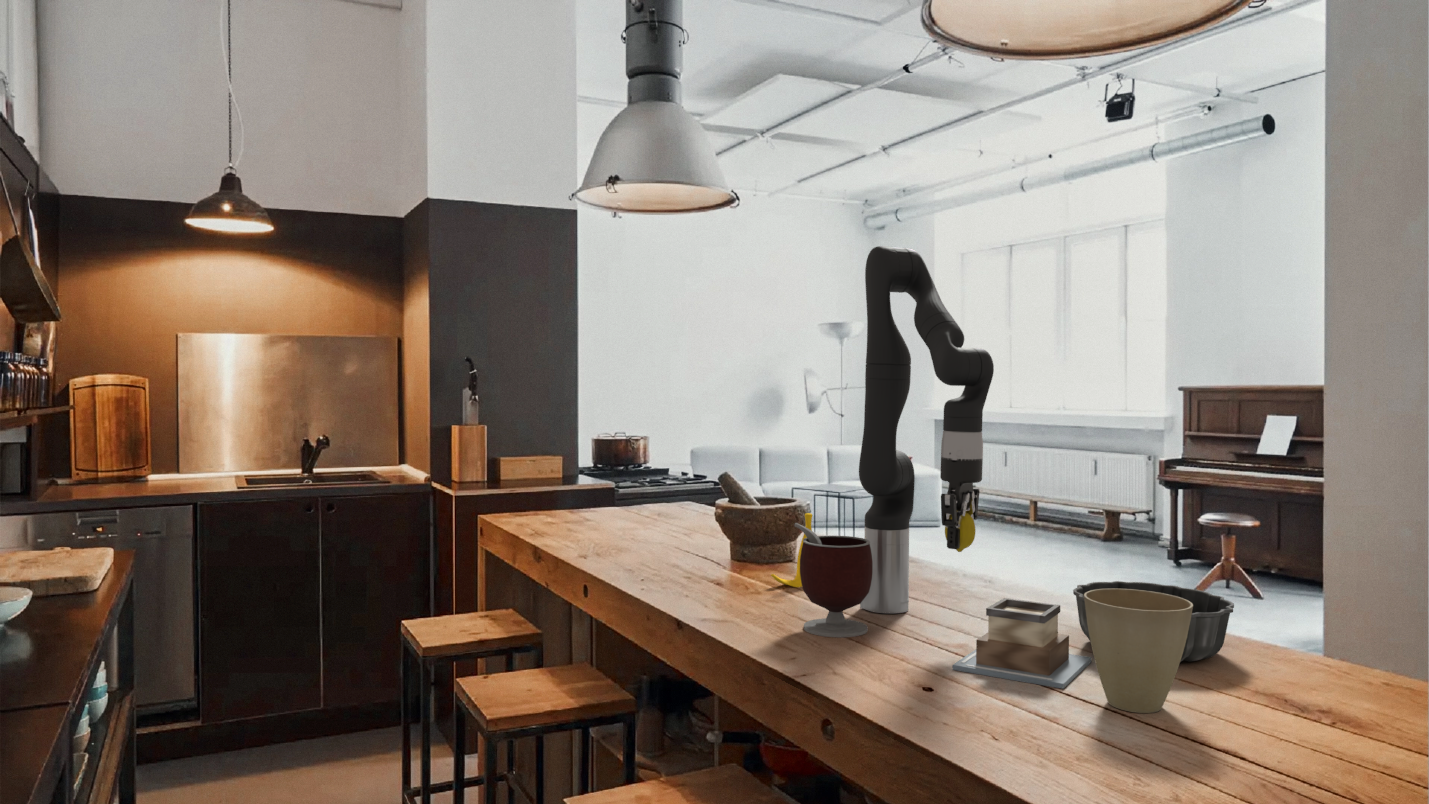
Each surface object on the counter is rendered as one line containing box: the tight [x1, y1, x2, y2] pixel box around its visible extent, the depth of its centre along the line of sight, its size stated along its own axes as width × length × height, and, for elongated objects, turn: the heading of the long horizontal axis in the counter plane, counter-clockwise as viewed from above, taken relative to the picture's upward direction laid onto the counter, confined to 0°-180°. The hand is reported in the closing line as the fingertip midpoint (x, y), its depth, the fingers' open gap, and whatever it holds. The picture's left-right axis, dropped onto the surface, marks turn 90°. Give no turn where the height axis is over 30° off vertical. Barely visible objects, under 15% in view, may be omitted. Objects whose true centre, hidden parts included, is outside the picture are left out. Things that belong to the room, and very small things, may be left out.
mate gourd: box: [793, 522, 873, 638], centre depth 193 cm, size 16×14×20 cm
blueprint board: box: [951, 649, 1092, 690], centre depth 169 cm, size 18×18×1 cm
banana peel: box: [770, 512, 813, 588], centre depth 235 cm, size 17×19×17 cm
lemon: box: [944, 512, 976, 553], centre depth 186 cm, size 6×6×8 cm
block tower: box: [975, 597, 1070, 676], centre depth 169 cm, size 12×12×9 cm
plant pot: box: [1084, 588, 1193, 714], centre depth 149 cm, size 15×15×16 cm
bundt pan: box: [1072, 580, 1235, 663], centre depth 179 cm, size 26×26×10 cm
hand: (959, 545), depth 186 cm, fingers closed on lemon, 5 cm apart
